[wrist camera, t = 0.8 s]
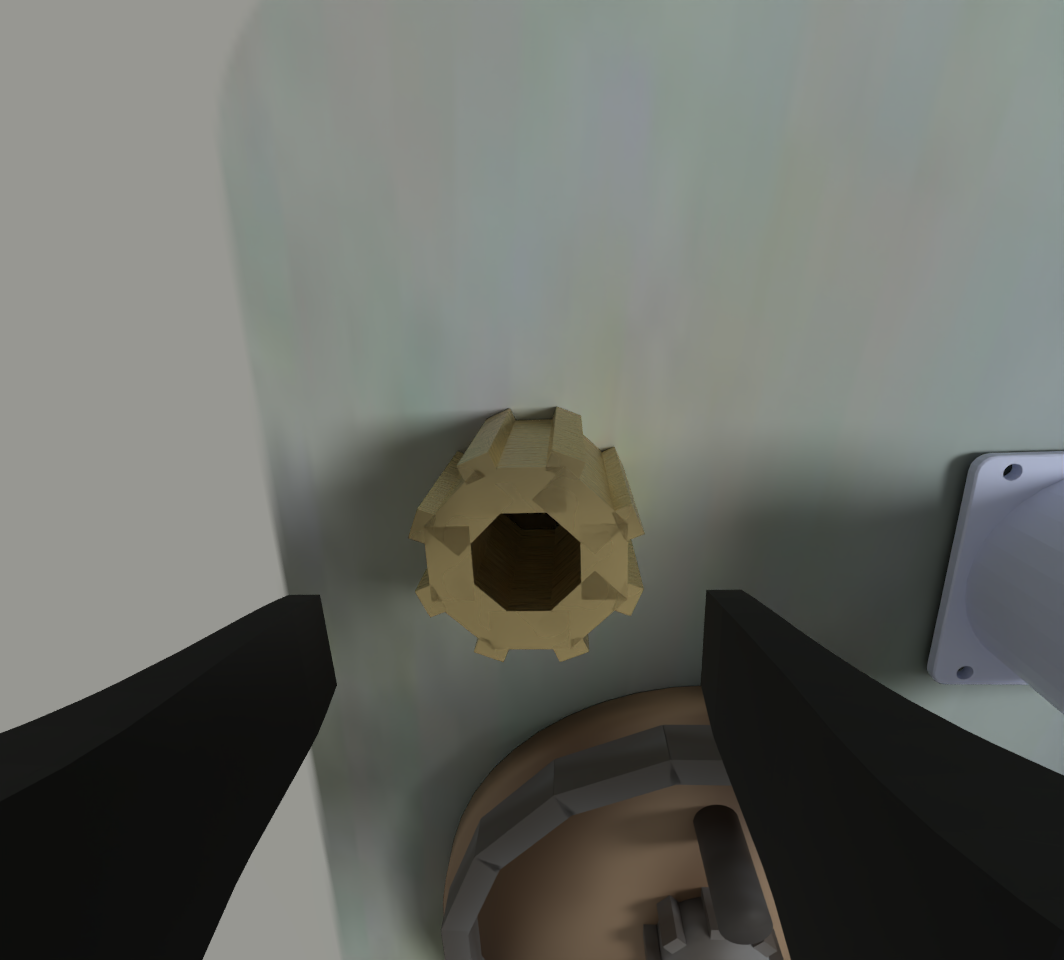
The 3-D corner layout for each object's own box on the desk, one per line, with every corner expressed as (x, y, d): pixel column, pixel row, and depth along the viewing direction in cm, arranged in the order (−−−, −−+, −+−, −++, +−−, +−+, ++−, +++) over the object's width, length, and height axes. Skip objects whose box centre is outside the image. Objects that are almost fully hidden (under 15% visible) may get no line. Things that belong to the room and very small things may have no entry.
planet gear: (624, 404, 17) (646, 447, 12) (623, 568, 19) (642, 662, 14) (444, 410, 17) (397, 454, 13) (459, 570, 19) (423, 662, 14)
